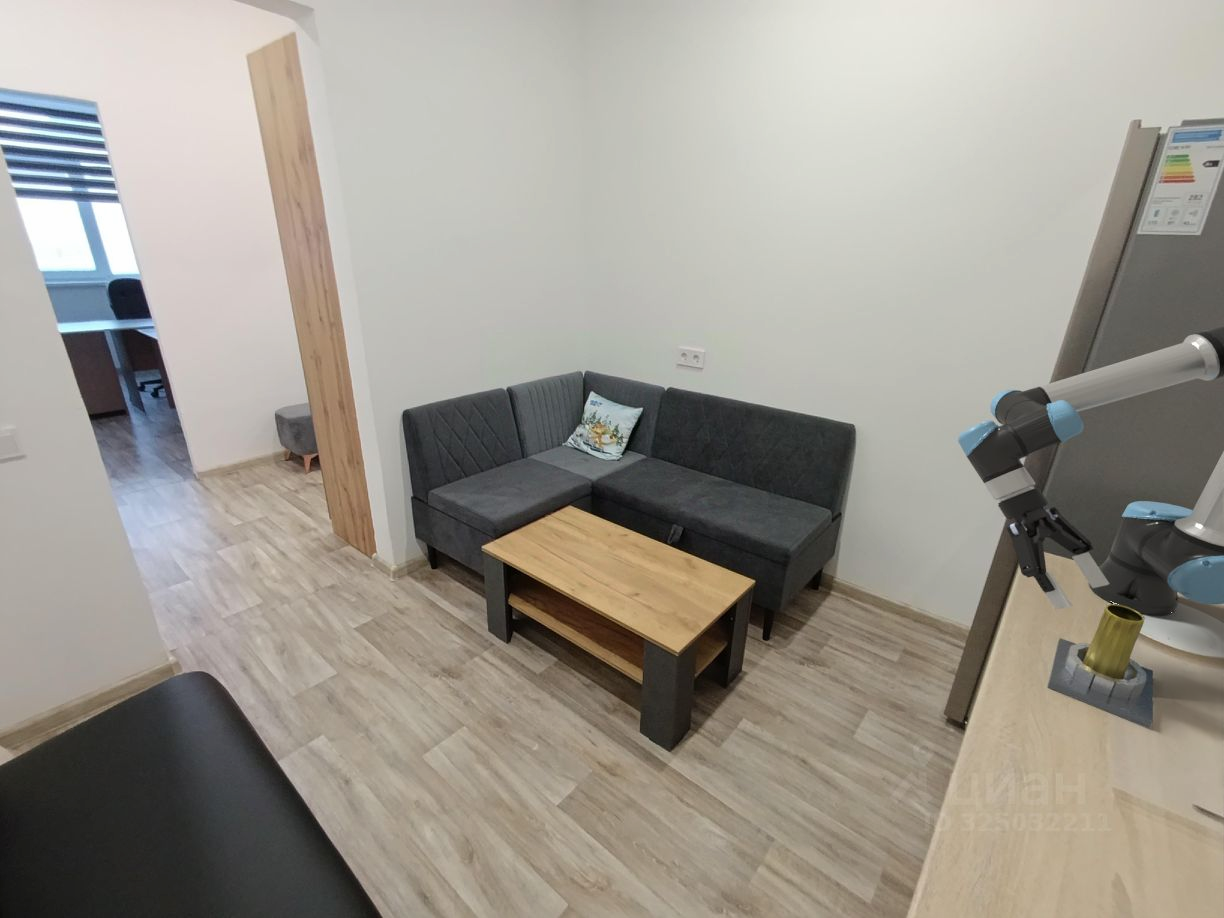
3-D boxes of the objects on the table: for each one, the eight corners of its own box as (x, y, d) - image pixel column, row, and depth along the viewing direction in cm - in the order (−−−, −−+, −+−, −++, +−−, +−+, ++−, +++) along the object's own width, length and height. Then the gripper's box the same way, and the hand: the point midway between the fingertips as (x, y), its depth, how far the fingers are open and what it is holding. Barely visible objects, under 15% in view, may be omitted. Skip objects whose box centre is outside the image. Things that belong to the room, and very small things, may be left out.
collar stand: (1057, 643, 112) (1063, 625, 111) (1150, 676, 104) (1158, 658, 102) (1047, 687, 102) (1053, 668, 100) (1149, 728, 93) (1158, 708, 91)
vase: (1130, 689, 99) (1157, 625, 94) (1092, 685, 100) (1117, 621, 95) (1107, 665, 104) (1132, 603, 99) (1072, 662, 105) (1094, 600, 100)
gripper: (1032, 488, 117) (1095, 582, 110) (962, 515, 107) (1026, 621, 100) (1068, 474, 111) (1136, 572, 104) (997, 501, 100) (1068, 613, 93)
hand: (1083, 596), depth 102 cm, fingers open, 13 cm apart
